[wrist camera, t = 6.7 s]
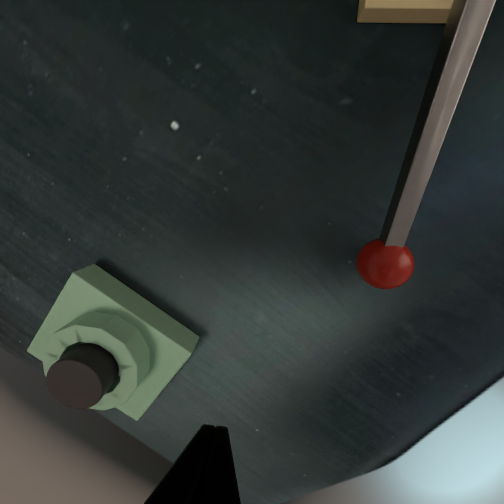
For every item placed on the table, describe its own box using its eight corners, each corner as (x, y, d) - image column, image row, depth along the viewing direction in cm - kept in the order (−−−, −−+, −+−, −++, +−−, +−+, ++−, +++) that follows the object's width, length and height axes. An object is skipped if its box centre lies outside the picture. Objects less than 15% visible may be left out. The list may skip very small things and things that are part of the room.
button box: (200, 336, 20) (183, 372, 16) (150, 399, 21) (123, 444, 17) (94, 263, 19) (49, 281, 15) (51, 334, 20) (0, 367, 17)
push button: (128, 363, 16) (112, 382, 15) (103, 396, 17) (85, 419, 15) (82, 332, 16) (60, 349, 14) (59, 368, 17) (36, 388, 15)
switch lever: (391, 272, 17) (414, 301, 15) (345, 269, 18) (360, 298, 15) (633, -390, 7) (892, -752, 4) (512, -381, 7) (678, -726, 4)
